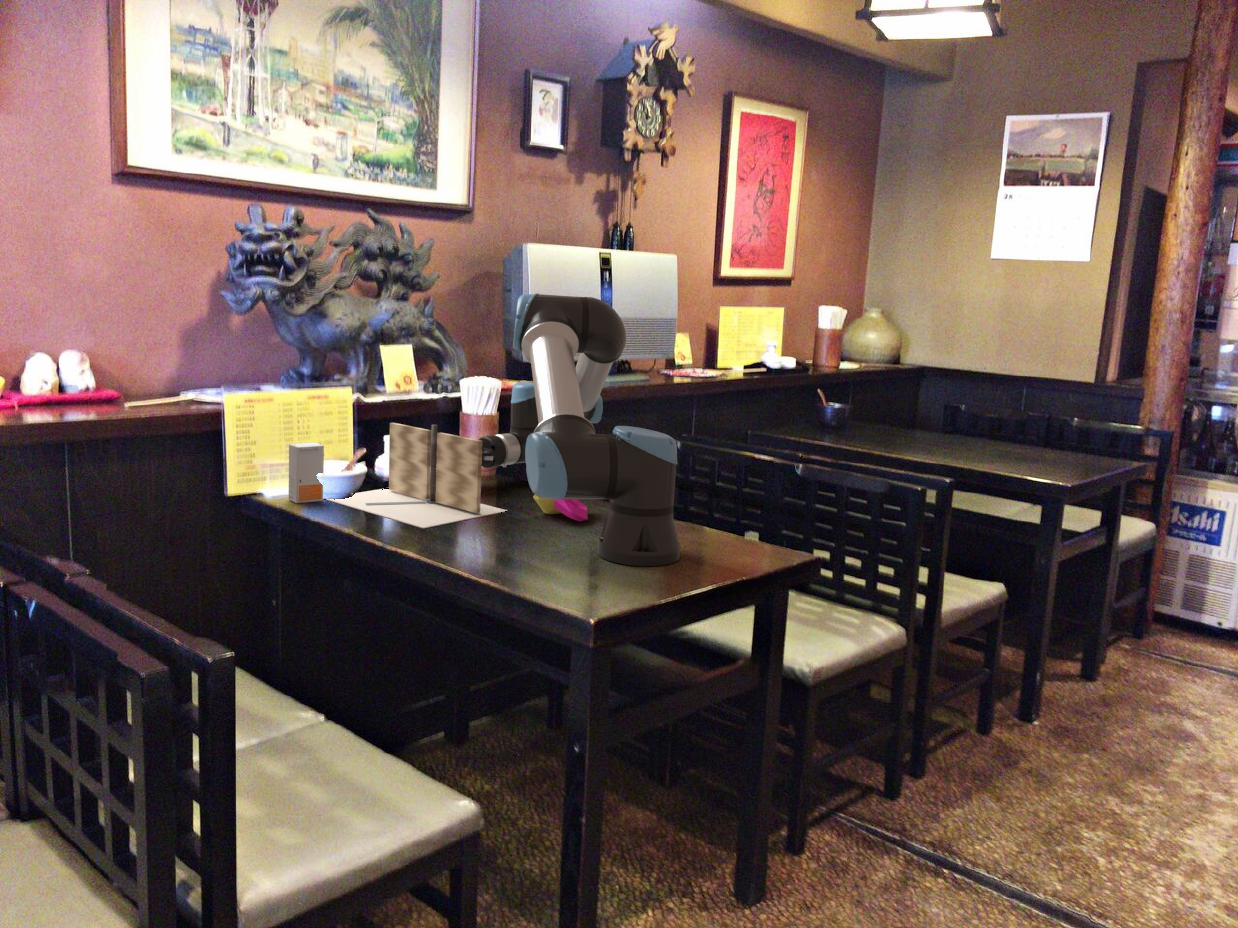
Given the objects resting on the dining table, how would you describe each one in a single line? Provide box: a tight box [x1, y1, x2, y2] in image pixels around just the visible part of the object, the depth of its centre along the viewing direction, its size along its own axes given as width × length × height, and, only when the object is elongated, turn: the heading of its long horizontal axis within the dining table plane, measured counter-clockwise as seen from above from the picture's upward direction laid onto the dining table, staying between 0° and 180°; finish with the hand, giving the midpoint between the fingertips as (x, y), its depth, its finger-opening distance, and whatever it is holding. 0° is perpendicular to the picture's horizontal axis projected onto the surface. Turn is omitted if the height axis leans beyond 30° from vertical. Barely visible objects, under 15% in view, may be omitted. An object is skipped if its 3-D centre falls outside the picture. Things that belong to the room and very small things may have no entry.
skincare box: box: [288, 442, 325, 504], centre depth 210 cm, size 6×4×12 cm
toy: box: [532, 494, 589, 523], centre depth 211 cm, size 10×18×10 cm, turn 33°
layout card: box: [325, 488, 508, 529], centre depth 212 cm, size 32×23×1 cm
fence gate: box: [388, 422, 432, 500], centre depth 218 cm, size 12×1×15 cm, turn 52°
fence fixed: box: [427, 424, 483, 513], centre depth 209 cm, size 15×3×17 cm, turn 52°
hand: (419, 461), depth 219 cm, fingers closed
